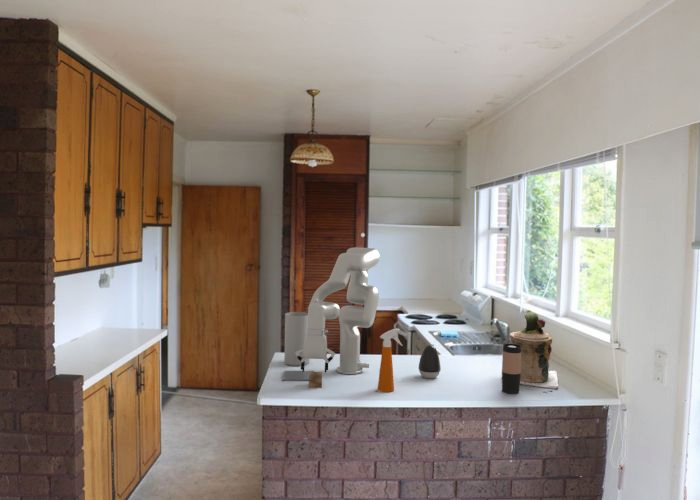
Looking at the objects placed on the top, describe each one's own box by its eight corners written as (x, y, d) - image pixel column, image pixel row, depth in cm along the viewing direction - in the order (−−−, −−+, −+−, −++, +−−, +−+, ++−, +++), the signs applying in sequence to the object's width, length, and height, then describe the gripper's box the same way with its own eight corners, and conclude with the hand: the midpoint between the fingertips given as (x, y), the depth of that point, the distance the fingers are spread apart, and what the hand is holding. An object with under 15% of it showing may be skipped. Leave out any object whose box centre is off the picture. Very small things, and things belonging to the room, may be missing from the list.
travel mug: (498, 388, 226) (500, 343, 225) (515, 388, 226) (517, 343, 225) (505, 394, 218) (506, 347, 217) (522, 394, 219) (524, 347, 218)
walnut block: (321, 384, 228) (322, 371, 227) (321, 387, 222) (322, 375, 222) (309, 383, 227) (309, 371, 227) (308, 387, 222) (309, 375, 222)
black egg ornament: (442, 375, 244) (443, 343, 243) (437, 381, 235) (437, 348, 234) (422, 372, 248) (422, 341, 248) (415, 378, 239) (416, 345, 238)
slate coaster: (314, 372, 246) (314, 370, 246) (313, 380, 232) (313, 379, 232) (284, 371, 245) (284, 370, 245) (282, 380, 231) (282, 379, 231)
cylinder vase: (302, 367, 253) (303, 316, 252) (280, 364, 258) (280, 314, 256) (313, 361, 265) (314, 313, 264) (291, 358, 269) (292, 311, 268)
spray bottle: (404, 391, 220) (406, 329, 218) (380, 393, 217) (382, 330, 215) (398, 386, 226) (400, 326, 225) (375, 387, 223) (376, 327, 222)
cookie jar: (500, 383, 235) (502, 313, 233) (503, 369, 258) (506, 305, 256) (558, 390, 226) (561, 317, 225) (557, 375, 249) (559, 309, 248)
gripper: (335, 331, 228) (334, 369, 228) (296, 330, 227) (294, 368, 227) (336, 334, 220) (334, 374, 220) (295, 333, 219) (293, 373, 220)
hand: (314, 371), depth 224 cm, fingers open, 9 cm apart
